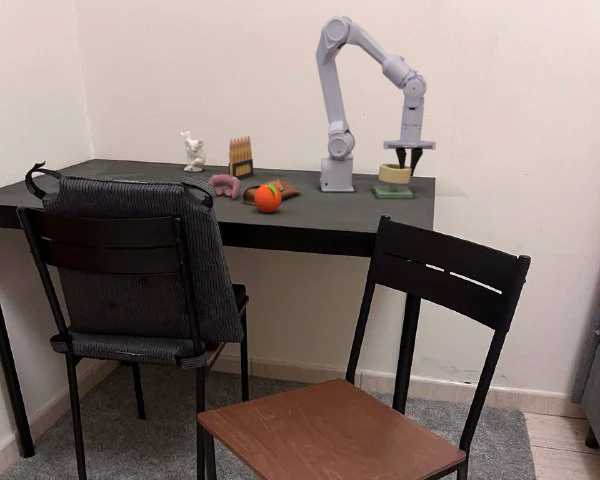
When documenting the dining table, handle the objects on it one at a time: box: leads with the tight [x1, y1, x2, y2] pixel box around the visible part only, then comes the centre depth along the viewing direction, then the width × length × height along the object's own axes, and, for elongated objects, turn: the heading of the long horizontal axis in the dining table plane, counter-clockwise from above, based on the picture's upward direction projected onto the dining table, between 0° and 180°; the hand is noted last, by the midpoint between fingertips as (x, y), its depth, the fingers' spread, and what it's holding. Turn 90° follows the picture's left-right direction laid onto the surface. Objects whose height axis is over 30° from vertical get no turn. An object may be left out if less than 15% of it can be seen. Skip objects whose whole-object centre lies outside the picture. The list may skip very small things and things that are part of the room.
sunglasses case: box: [242, 177, 301, 206], centre depth 173 cm, size 18×7×7 cm
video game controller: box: [207, 173, 242, 200], centre depth 173 cm, size 10×5×7 cm, turn 71°
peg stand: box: [372, 182, 414, 199], centre depth 178 cm, size 10×10×6 cm
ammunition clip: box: [228, 135, 254, 180], centre depth 193 cm, size 11×2×12 cm, turn 148°
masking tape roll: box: [377, 163, 412, 185], centre depth 177 cm, size 9×9×4 cm
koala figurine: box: [179, 130, 207, 173], centre depth 201 cm, size 8×7×12 cm
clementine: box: [255, 184, 282, 213], centre depth 159 cm, size 8×7×7 cm
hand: (406, 175), depth 178 cm, fingers closed on masking tape roll, 2 cm apart
